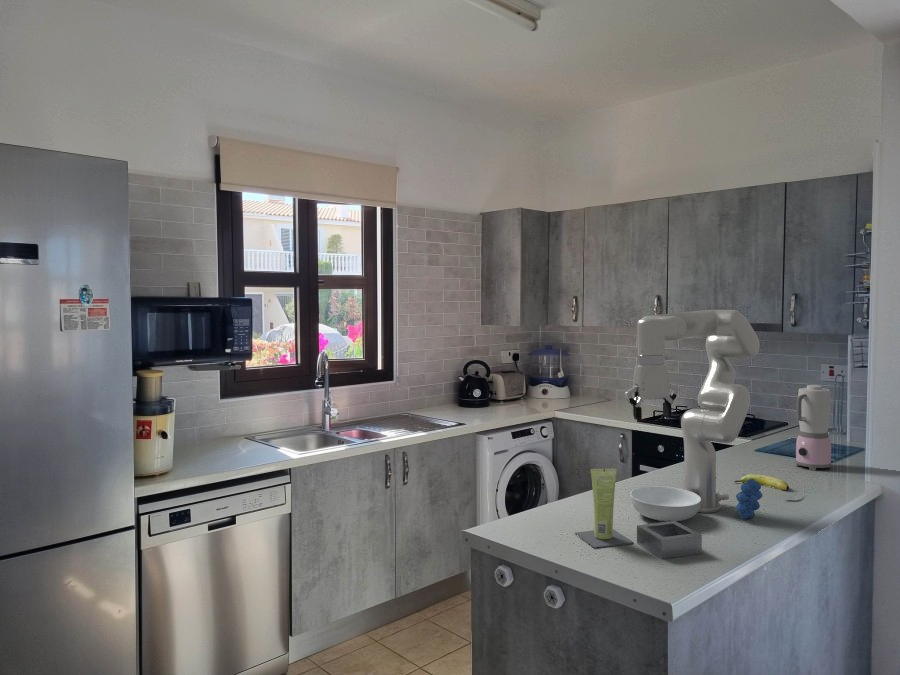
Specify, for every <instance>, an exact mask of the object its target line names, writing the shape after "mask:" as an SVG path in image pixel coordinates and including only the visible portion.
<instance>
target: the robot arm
mask: <svg viewBox="0 0 900 675" xmlns="http://www.w3.org/2000/svg"><path fill="white" fill-rule="evenodd" d="M636 325H637V326H636V327H637V328H636V329H637V331H636V332H637V365H635V367H634V371H633V377H632V378H633V379H632V380H633V381H632V387H630V389H628V390H626V391H625V392H624V396H625V398H626V399H627V402H628V403H629V404H630V405H631V406H632V415H633V419H634V420H635V421H638V422H640V421H643V415H642V413H643V412H642V407H641V405H642V403H643V402H644V401H651V400H660V399H662V401H664V402H663V403H662V416H663V417H666V418H672V404H673V403H674V401H675V399H676V398H677V394H678V393H679V390H680V388H679V387H677V386H675V385H674V384H671V383H670V382H671V381H670V373H669V369H668V366H667V364H666V361H667V360H668V359H669V356H668V355H666V354H665V351H666V350H665V343H666V342H677V341H681V340H684V339H685V340H687V339H688V340H690V339H691V340H692V339H694V340H695V339H700V338H706V339H705V350H706V353H707V359H708V367H709V368H708V371H707V374H706V376H705V378H704V380H703V383H702V384H701V388H700V390H699V391H698V395H697V404H698V406H699V408H691V409H688V410H685V412H684V413H683V414H682V416H681V419H680V426H681V431H682V433H681V434H682V437H683V449H684V458H683V459H684V460H683V462H684V465H683V467H684V468H683V469H684V470H683V473H684V474H683V475H684V476H683V478H684V480H683V481H684V482H683V484H684V485H683V488H684V490H687V491H690V492H693V493H695V494H697V495H698V496H700V498H701V505H700V508H699V510H698V512H697V513H703V514H704V513H706V514H707V513H716V512H719V511H720V510H722V504H721V503H720V502H721V501H727V500H729V499H730V496H729V494H728V493H720V492H717V454H716V453H717V452H716V449H715V447H714V445H713V443H714V442H715V443H721V444H730V443H733V442H735V440H736V439H737V437H738V436H739V434H740V431H741V430H742V427H743V425H744V422H745V419H746V417H747V414H748V412H749V409H750V406H751V393H750V390H749V389H748V388H747V387H746V386H744V385H742V384H738V383H737V384H736V383H735V380H736V378H737V377H736V375H737V374H736V370H735V368H734V367H733V365H732V364H731V362H730V359H731V358H732V359H752V358H754V357H756V356H757V354H758V353H759V351H760V346H761V345H760V340H759V337H758V335H757V333H756V332H755V329H754V328H753V327H752V325H751V323H750V322H749V320H748V319H747V317H746V316H744V314H743V313H742V312H741V311H739V310H737V309H704V310H691V311H682V312H674V313H663V314H651V315H650V314H649V315H645V316H643V317H642V318H640V319H639V320H638V321H637V324H636ZM729 358H730V359H729ZM712 442H713V443H712Z"/></svg>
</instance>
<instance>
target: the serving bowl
mask: <svg viewBox="0 0 900 675" xmlns="http://www.w3.org/2000/svg"><path fill="white" fill-rule="evenodd" d="M629 497H630V501H631V504H632V507H633V508H634V510H636V511H637V513H639V514H640V515H642V516H644V517H646V518H648V519H652V520H655V521H658V522H670V521H676V522H681V521H687V520H689V519H691V518H692V517H695V515H697V513H699V512H698V510H699V508H700V505H701V498H700V496H698V495H697V494H695V493H693V492H690V491H687V490H684V489H683V488H680V487H679V488H678V487H673V486H663V485H662V486H661V485H660V486H659V485H657V486H656V485H653V486H651V485H650V486H643V487H637V488H634V489H632V490H631V491H630V493H629Z"/></svg>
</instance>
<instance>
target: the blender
mask: <svg viewBox="0 0 900 675" xmlns="http://www.w3.org/2000/svg"><path fill="white" fill-rule="evenodd" d="M831 404H832V403H831V390H830V389H829V388H823V386H822V385H817V384H815V385H814V384H808V385H806V387H801V388H798V394H797V398H796V419H797V421H798V424H799V434H798V436H797V438H796V443H795V466H796V467H797V468H798V467H799V466H802V467H805V468H807V467H808V469H809V471H816V470H817V469H825V468H829V469H831V468H832V442H831V438H830V437H829V432H828V431H829V426H830V420H831V412H832V411H831V408H832V407H831V406H832V405H831Z"/></svg>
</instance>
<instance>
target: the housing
mask: <svg viewBox="0 0 900 675" xmlns="http://www.w3.org/2000/svg"><path fill="white" fill-rule="evenodd" d="M702 539H703V535H702V534H701V533H699V532H697V531H695V530H693V529H692V528H689V527H687V526H686V525H683V524H682V523H679V521H670V522H663V521H660V522H654V523H647V524H637V525H636V544H637V545H638V546H641V547H642V548H644V549H646V550H647V551H648V552H650V553H652V554H653V555H654V556H656V557H658V558H659V559H661V560H663V559H664V560H665V559H672V558H673V559H674V558H678V557H679V558H680V557H687V556H688V557H689V556H695V555H702V553H703V551H702V550H703V549H702V548H703V547H702V546H703V545H702V544H703V540H702Z"/></svg>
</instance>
